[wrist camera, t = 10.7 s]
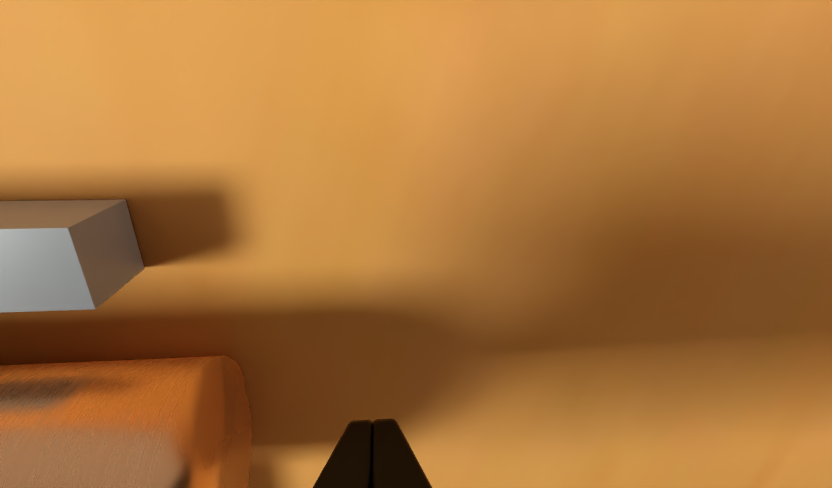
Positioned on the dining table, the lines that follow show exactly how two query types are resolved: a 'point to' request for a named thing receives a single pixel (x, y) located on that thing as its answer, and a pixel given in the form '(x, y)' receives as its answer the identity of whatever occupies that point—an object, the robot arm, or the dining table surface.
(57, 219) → the gray forked cradle
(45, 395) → the pipe stub
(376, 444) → the robot arm
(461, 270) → the dining table surface
